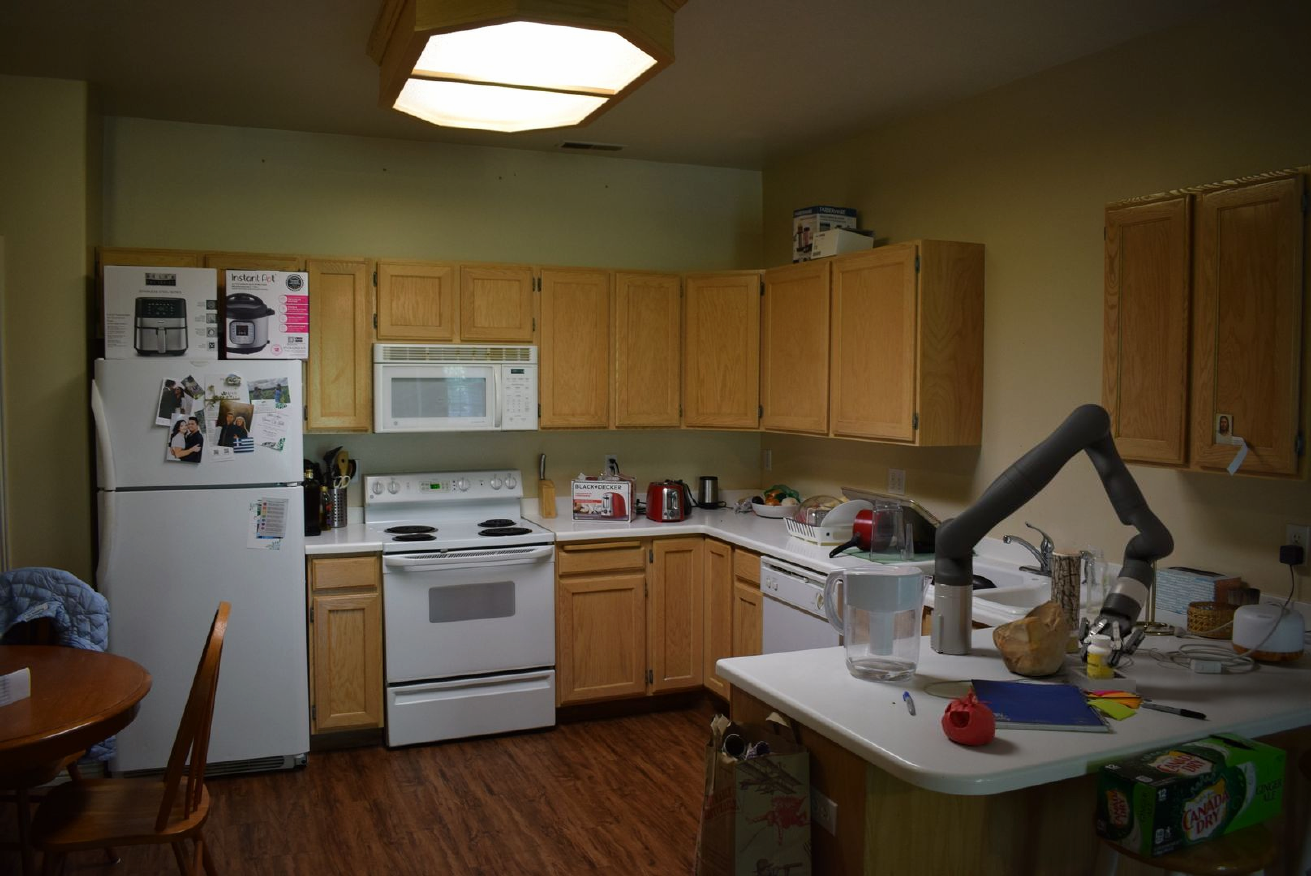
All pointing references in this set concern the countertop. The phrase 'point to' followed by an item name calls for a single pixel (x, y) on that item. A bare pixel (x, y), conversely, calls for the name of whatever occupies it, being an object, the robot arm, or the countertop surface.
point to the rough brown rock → (1034, 641)
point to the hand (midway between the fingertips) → (1096, 662)
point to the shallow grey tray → (1099, 681)
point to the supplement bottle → (1099, 657)
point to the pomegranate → (969, 721)
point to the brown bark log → (1067, 590)
